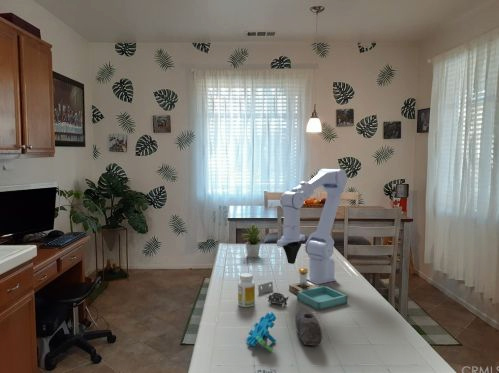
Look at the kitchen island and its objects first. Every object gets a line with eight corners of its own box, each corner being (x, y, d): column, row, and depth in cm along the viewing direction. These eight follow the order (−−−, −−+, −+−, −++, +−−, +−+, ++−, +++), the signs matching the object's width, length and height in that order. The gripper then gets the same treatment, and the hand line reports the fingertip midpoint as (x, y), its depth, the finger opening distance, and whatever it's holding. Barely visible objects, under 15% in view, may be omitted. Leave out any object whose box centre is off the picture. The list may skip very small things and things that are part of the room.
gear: (246, 326, 101) (272, 304, 99) (262, 341, 102) (288, 319, 99) (241, 353, 90) (270, 328, 88) (259, 369, 91) (288, 345, 89)
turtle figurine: (263, 308, 119) (263, 294, 118) (271, 301, 125) (271, 288, 124) (309, 316, 113) (309, 302, 112) (315, 308, 119) (315, 294, 118)
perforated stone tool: (290, 324, 106) (291, 300, 106) (309, 323, 107) (309, 300, 106) (302, 351, 91) (302, 324, 91) (323, 350, 92) (324, 323, 91)
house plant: (236, 251, 188) (236, 219, 187) (263, 251, 190) (263, 219, 188) (238, 259, 174) (238, 224, 173) (267, 258, 175) (268, 224, 174)
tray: (324, 292, 131) (324, 285, 131) (347, 303, 122) (347, 295, 122) (297, 298, 125) (297, 291, 125) (318, 310, 116) (318, 302, 116)
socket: (304, 287, 137) (304, 281, 137) (317, 293, 131) (317, 287, 131) (289, 290, 134) (289, 284, 133) (301, 296, 128) (301, 290, 127)
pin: (303, 289, 134) (304, 267, 134) (309, 292, 132) (309, 270, 131) (297, 291, 133) (297, 269, 132) (302, 293, 130) (302, 271, 130)
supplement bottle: (256, 302, 123) (256, 273, 122) (251, 308, 117) (251, 278, 117) (241, 300, 124) (241, 271, 124) (235, 306, 119) (235, 276, 119)
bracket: (278, 303, 123) (278, 293, 122) (258, 294, 130) (258, 285, 130) (292, 298, 127) (292, 288, 126) (272, 290, 135) (272, 281, 134)
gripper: (294, 221, 140) (293, 257, 141) (270, 227, 129) (269, 265, 130) (310, 223, 135) (309, 260, 137) (286, 229, 125) (286, 269, 126)
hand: (291, 263), depth 133 cm, fingers closed
